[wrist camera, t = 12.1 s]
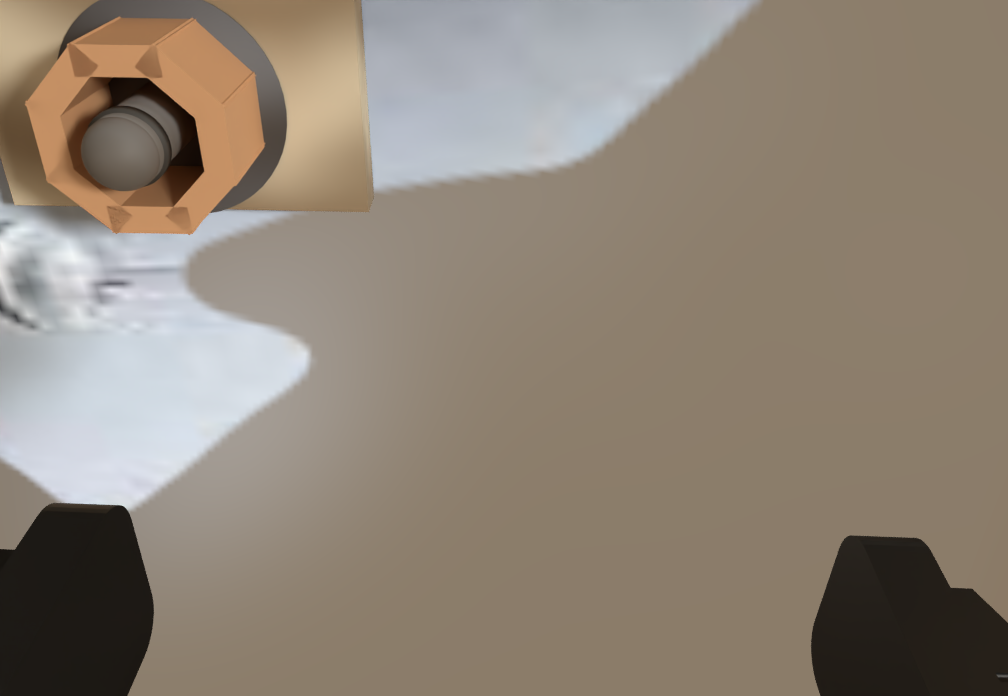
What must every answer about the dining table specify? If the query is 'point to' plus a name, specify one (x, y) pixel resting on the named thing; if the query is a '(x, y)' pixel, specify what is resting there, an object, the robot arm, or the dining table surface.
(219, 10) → the post board
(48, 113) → the ring
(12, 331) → the dining table surface
